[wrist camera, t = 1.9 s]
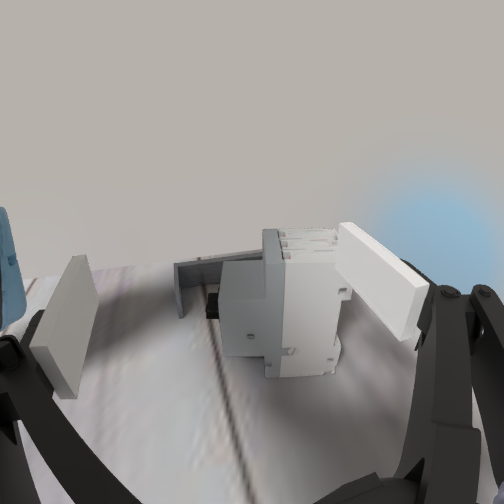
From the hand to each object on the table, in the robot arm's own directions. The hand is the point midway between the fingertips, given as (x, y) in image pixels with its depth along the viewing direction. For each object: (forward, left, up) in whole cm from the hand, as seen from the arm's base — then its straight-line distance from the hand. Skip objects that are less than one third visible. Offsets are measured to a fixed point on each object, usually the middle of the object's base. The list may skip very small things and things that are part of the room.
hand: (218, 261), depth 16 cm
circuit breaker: (+7, +13, -21) cm, 26 cm away
